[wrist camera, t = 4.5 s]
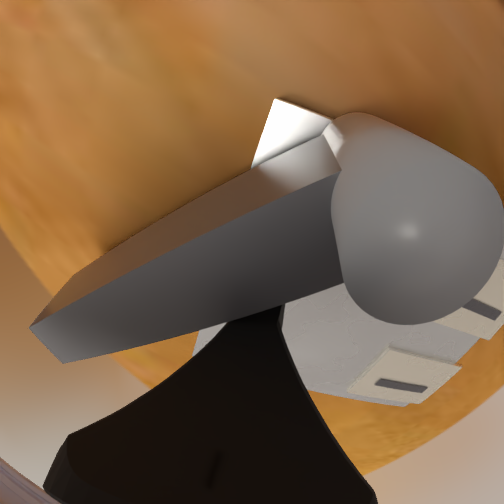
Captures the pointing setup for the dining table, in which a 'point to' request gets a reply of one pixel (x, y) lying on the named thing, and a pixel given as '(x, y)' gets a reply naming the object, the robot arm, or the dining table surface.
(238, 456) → the robot arm
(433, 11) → the dining table surface
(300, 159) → the grey knobbed handle
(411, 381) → the chassis plate
